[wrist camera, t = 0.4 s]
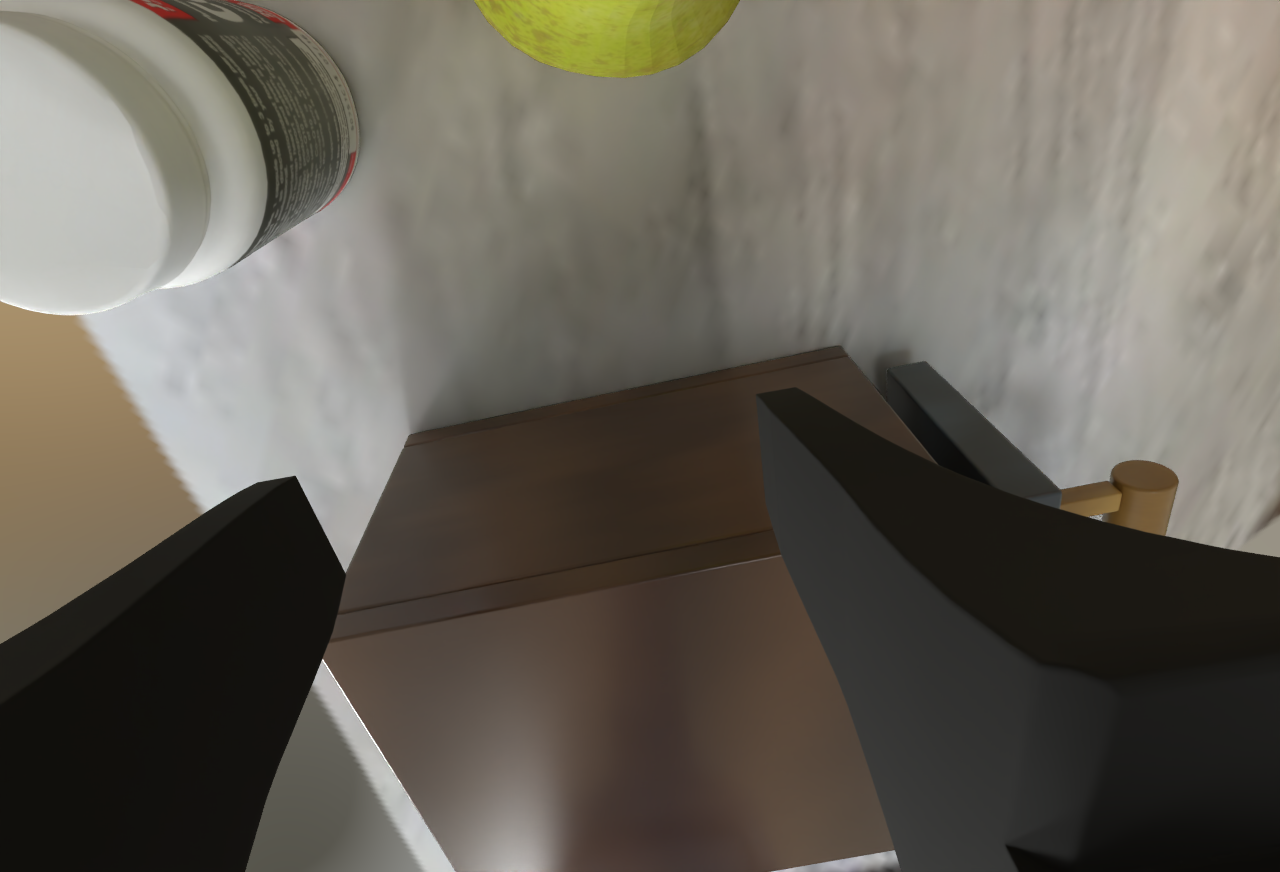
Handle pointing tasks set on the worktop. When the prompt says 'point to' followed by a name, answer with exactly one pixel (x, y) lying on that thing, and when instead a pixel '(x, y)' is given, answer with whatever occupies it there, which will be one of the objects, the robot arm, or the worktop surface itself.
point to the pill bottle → (157, 144)
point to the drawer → (1021, 456)
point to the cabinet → (608, 637)
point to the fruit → (608, 32)
